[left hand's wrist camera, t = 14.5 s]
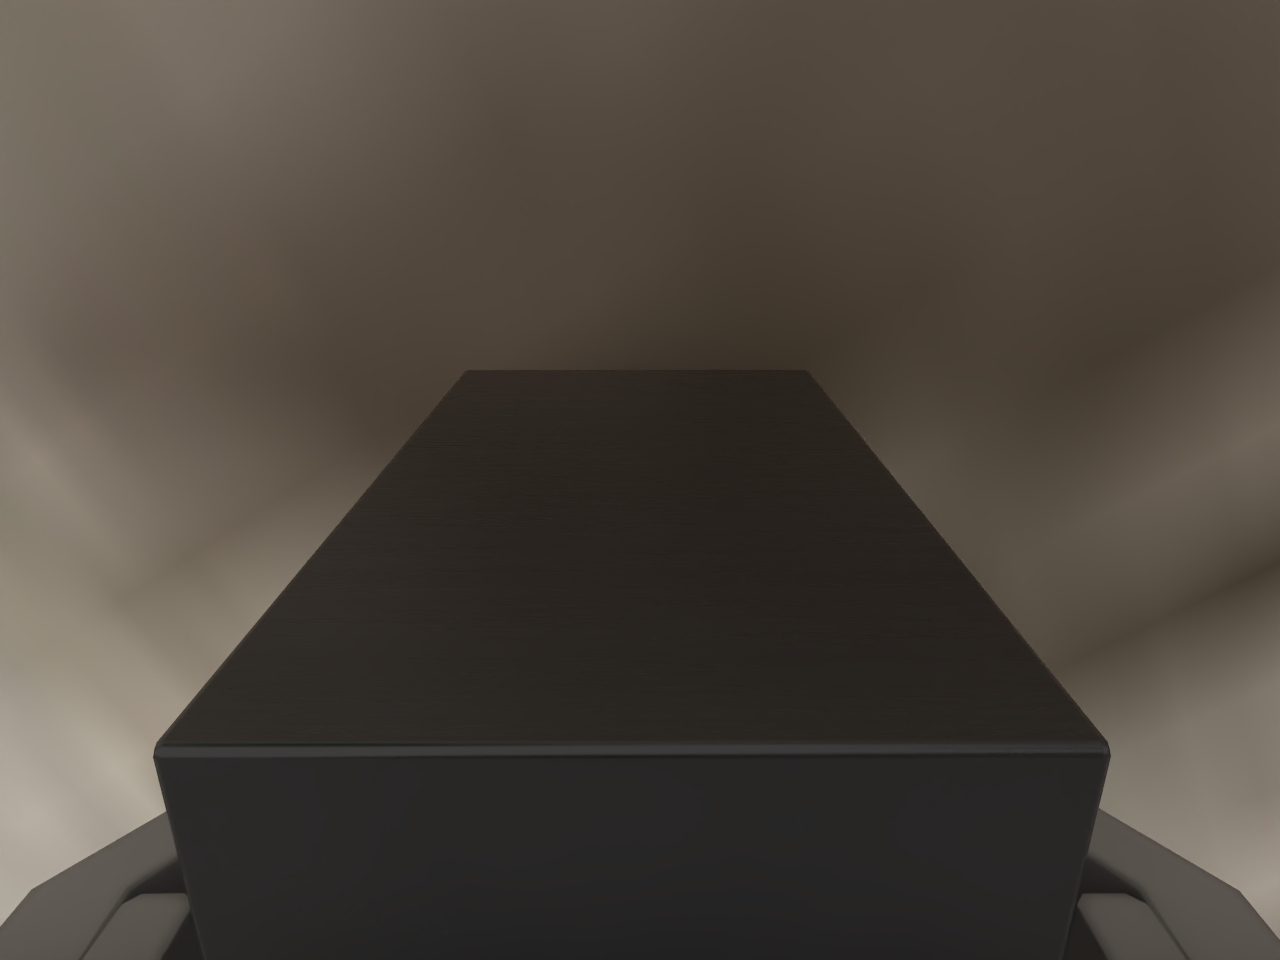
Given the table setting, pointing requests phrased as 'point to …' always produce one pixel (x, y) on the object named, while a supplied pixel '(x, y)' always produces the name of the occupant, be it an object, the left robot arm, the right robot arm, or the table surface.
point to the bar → (633, 704)
